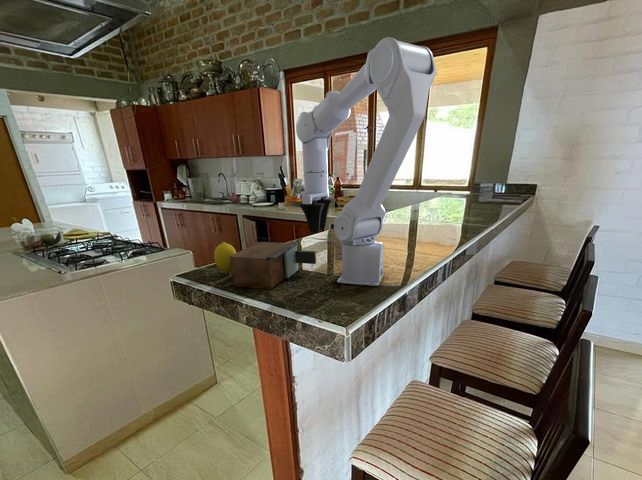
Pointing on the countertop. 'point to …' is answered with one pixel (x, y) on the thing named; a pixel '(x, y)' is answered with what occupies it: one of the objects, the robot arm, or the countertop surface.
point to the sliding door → (297, 259)
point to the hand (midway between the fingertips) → (317, 230)
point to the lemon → (224, 256)
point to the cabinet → (260, 265)
